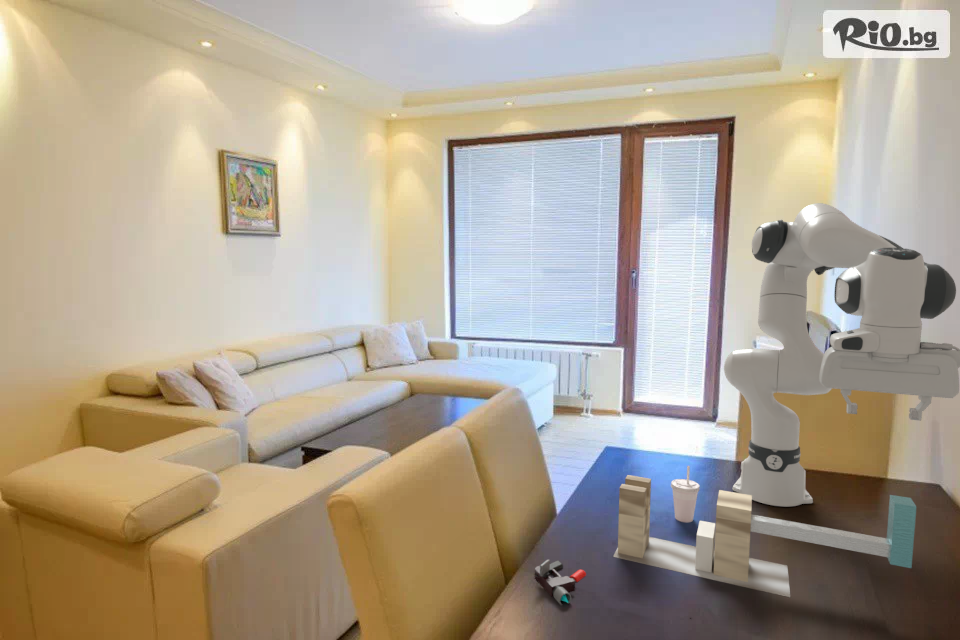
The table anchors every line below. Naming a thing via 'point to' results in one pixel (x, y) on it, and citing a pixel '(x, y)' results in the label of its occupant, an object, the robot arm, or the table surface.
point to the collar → (705, 546)
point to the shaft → (892, 547)
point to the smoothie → (684, 498)
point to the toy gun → (557, 580)
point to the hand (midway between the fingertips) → (882, 416)
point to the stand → (728, 552)
